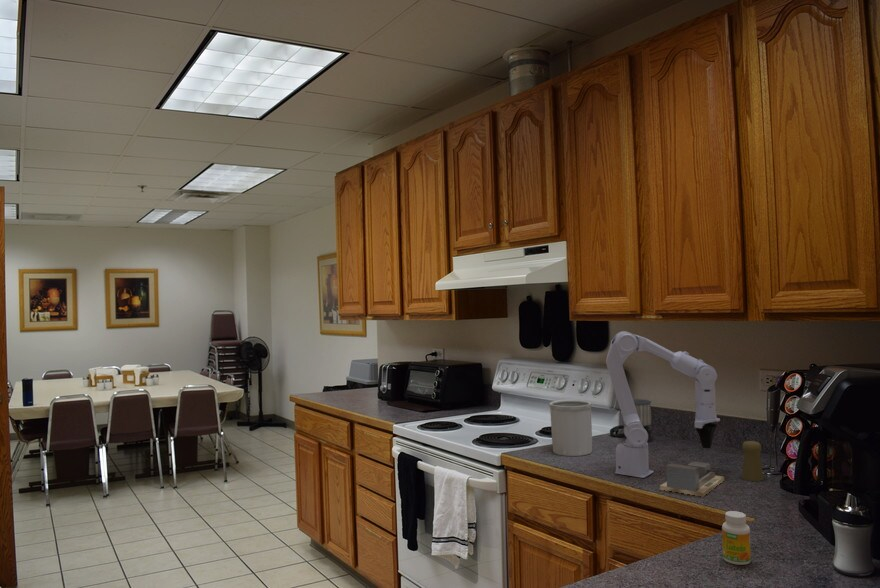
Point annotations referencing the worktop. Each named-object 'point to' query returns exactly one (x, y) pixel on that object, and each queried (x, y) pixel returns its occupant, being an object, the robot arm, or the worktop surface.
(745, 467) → the cork
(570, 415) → the utensil holder
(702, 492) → the gauge board
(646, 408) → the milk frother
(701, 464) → the gauge carriage
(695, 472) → the grey box
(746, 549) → the supplement bottle
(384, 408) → the worktop surface
